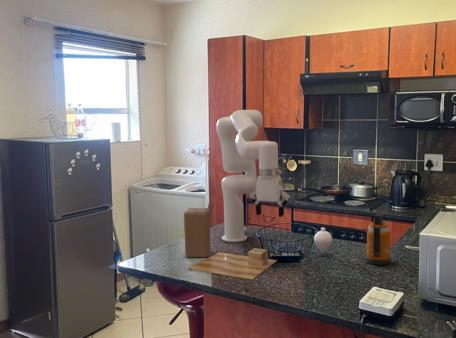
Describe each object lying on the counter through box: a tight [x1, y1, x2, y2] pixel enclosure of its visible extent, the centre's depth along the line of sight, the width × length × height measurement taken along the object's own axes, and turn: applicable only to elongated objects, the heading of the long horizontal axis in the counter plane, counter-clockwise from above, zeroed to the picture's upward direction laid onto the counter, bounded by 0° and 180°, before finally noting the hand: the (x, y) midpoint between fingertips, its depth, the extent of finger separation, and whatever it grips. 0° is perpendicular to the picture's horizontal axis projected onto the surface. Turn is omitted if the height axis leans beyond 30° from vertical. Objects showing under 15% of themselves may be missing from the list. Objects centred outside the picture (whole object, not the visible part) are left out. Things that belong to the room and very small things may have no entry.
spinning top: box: [313, 227, 333, 256], centre depth 192 cm, size 8×8×12 cm
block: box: [183, 207, 212, 258], centre depth 196 cm, size 10×10×20 cm
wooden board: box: [188, 251, 278, 280], centre depth 182 cm, size 24×28×1 cm
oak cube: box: [247, 247, 269, 266], centre depth 184 cm, size 6×6×5 cm
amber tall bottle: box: [366, 213, 391, 266], centre depth 180 cm, size 9×11×20 cm
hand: (269, 215), depth 179 cm, fingers open, 9 cm apart
